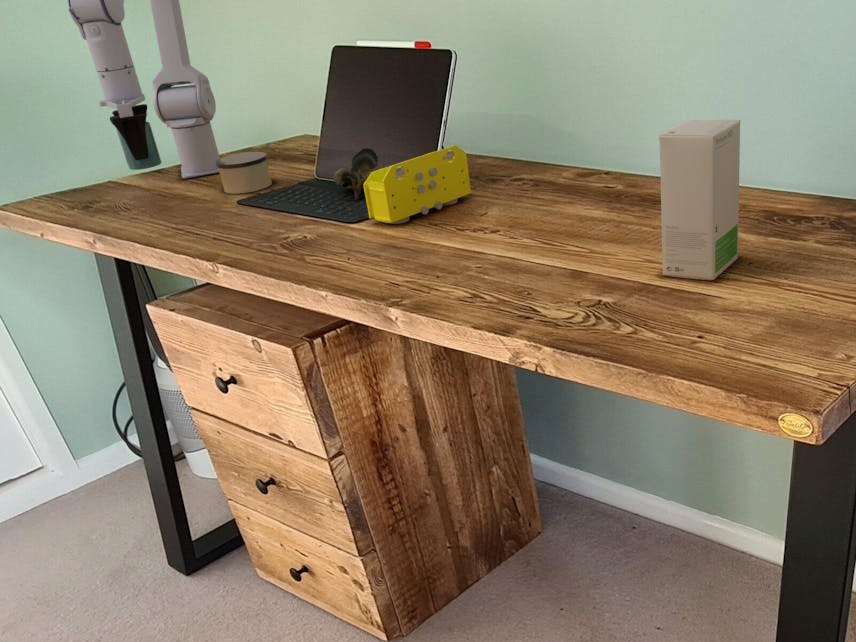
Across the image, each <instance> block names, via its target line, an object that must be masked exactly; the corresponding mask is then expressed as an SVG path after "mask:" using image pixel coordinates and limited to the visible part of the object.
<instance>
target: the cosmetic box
mask: <svg viewBox="0 0 856 642" xmlns="http://www.w3.org/2000/svg"><path fill="white" fill-rule="evenodd" d="M658 140H659V170H660V171H659V173H660V174H659V175H660V201H661V202H660V211H661V213H660V214H661V256H662V257H661V258H662V259H661V260H662V263H661V264H662V274H661V275H662V276H665V277H666V276H667V277H673V278H681V279H682V278H683V279H691V280H703V281H714V280H715V279H717V277H719V276H720V275H721V274H722V273H723V272H725V270H726V269H728V268H729V267H730V266H731V265H732V264H733V263H735V262H736V261H737V260H738V258H739V227H740V226H739V221H740V217H739V216H740V165H741V164H740V161H741V160H740V159H741V158H740V157H741V156H740V154H741V153H740V152H741V144H740V143H741V119H689V120H686V121H684V122H682V123H680V124H678V125H673V126H671V127H670V128H669V129H668V130H666V131H664V132H662V133H659V135H658Z"/></svg>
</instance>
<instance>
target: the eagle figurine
mask: <svg viewBox="0 0 856 642" xmlns="http://www.w3.org/2000/svg"><path fill="white" fill-rule="evenodd" d="M378 162H379V157H378V155H377V152H375V150H373V148H368V147H365V148H362V149H361V150H360V151H359V152H356V154H355V155H353V157H352V158H351V164H350V165H351V166H350V171H349V170H348V169H347V168H346V167H342V168H340V169H338V170H337V171H336V172H334V173H335V174H334V175H333V181H334V184H336V185H337V186H339V185H340V187H344V188H347V189H348V190H349V189H351V190H353V192H354V200H355V201H357V200H358V198H359V197H360V195H361V193H362V190H363V189H364V186H363V184H364V183H365V181H366V180H367V178H368V177H369V175H370V174H371V172H373V171H374V169H376V168H377V167H378V165H379V164H378Z"/></svg>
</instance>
